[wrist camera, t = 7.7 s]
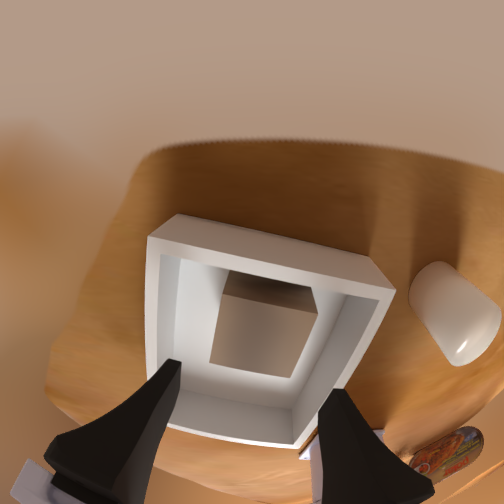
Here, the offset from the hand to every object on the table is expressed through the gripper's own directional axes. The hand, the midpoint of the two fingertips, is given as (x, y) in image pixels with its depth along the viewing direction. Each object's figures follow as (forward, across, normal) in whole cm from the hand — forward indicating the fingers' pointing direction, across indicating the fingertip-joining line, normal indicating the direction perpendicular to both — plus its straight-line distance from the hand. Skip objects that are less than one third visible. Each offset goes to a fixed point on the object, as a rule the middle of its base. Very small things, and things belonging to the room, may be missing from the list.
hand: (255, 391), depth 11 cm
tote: (+9, 0, +4) cm, 10 cm away
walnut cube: (+8, 0, 0) cm, 8 cm away
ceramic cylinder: (+9, -14, -4) cm, 17 cm away
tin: (+9, -39, +24) cm, 47 cm away
